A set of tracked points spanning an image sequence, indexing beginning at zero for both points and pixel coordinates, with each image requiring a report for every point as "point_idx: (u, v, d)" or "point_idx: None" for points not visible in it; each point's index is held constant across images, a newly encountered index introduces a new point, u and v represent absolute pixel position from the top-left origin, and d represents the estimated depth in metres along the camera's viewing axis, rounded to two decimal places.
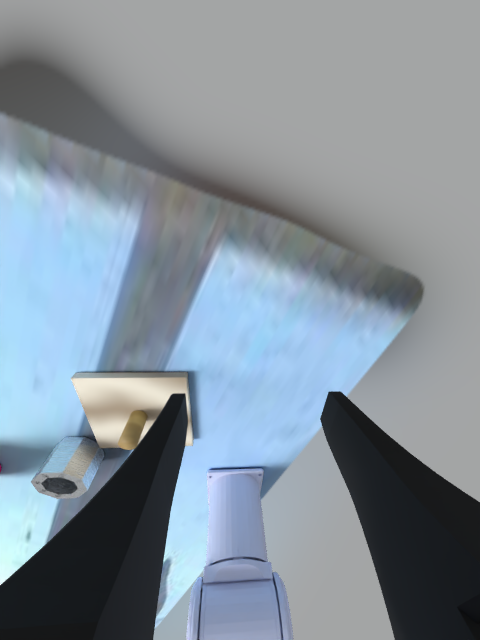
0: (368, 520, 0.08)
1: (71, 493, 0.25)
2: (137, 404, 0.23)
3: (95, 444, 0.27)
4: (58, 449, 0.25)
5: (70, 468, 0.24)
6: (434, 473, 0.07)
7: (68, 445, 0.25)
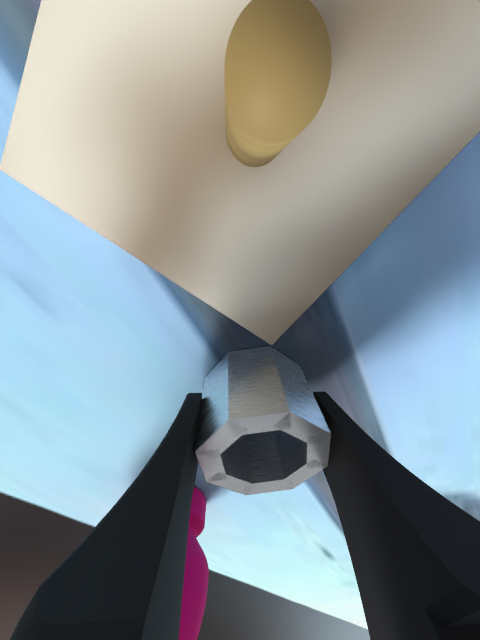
0: (348, 521, 0.08)
1: (306, 461, 0.09)
2: (207, 72, 0.06)
3: (260, 350, 0.11)
4: (203, 398, 0.10)
5: (242, 404, 0.08)
6: (411, 474, 0.07)
7: (214, 381, 0.11)
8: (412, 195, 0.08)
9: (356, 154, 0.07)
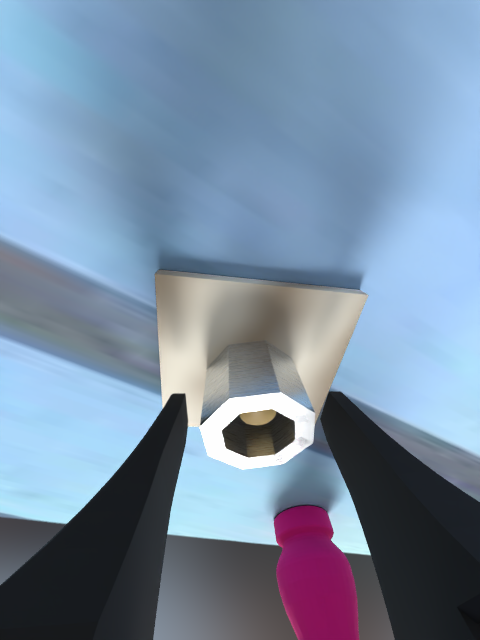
0: (368, 520, 0.08)
1: (294, 438, 0.11)
2: None
3: (256, 343, 0.12)
4: (206, 384, 0.12)
5: (240, 387, 0.10)
6: (434, 473, 0.07)
7: (215, 370, 0.12)
8: (344, 348, 0.13)
9: (302, 352, 0.13)
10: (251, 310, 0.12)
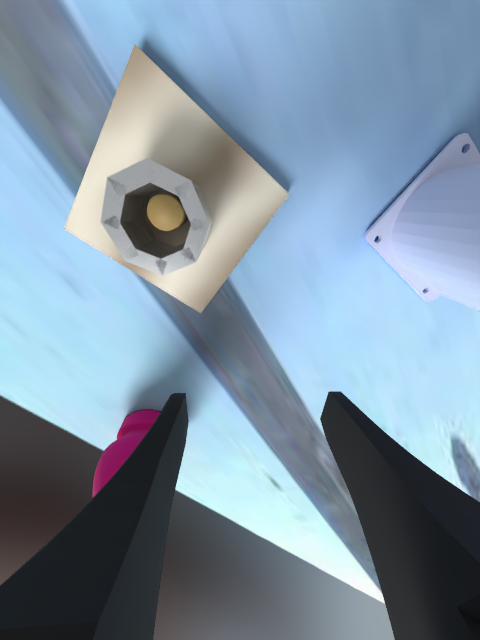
0: (368, 520, 0.08)
1: (183, 248, 0.12)
2: None
3: None
4: None
5: None
6: (434, 473, 0.07)
7: None
8: (255, 236, 0.16)
9: (223, 220, 0.15)
10: (200, 146, 0.13)
